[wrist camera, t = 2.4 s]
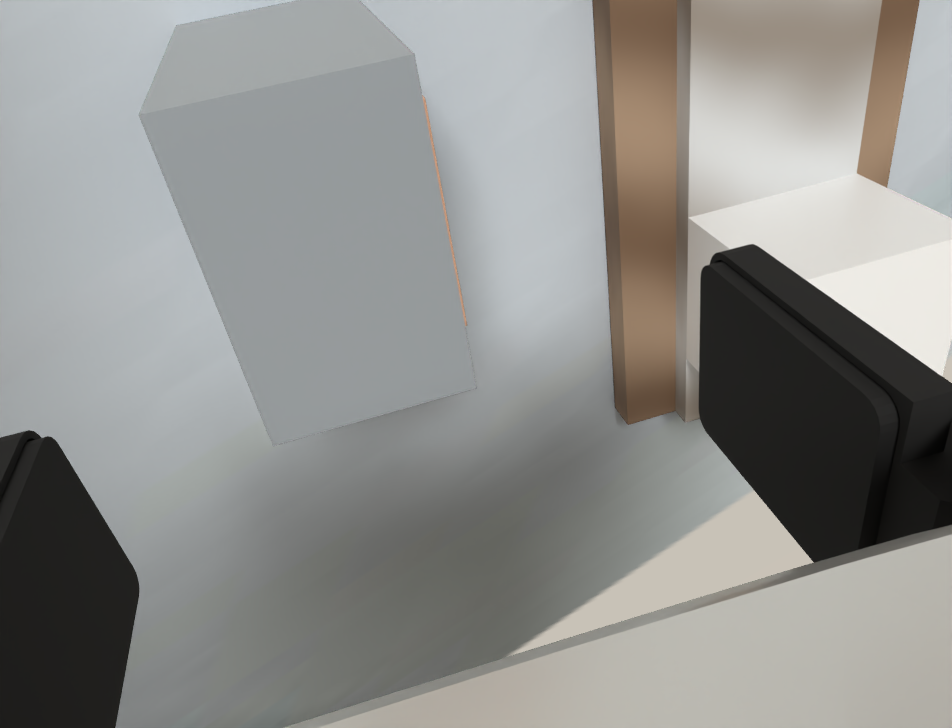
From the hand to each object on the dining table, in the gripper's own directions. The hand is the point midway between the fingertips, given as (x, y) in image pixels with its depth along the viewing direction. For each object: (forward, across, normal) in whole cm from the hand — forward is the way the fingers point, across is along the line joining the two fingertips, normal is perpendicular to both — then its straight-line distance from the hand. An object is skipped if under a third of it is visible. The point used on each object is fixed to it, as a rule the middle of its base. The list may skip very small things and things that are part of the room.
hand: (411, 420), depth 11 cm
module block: (+13, +1, -1) cm, 13 cm away
